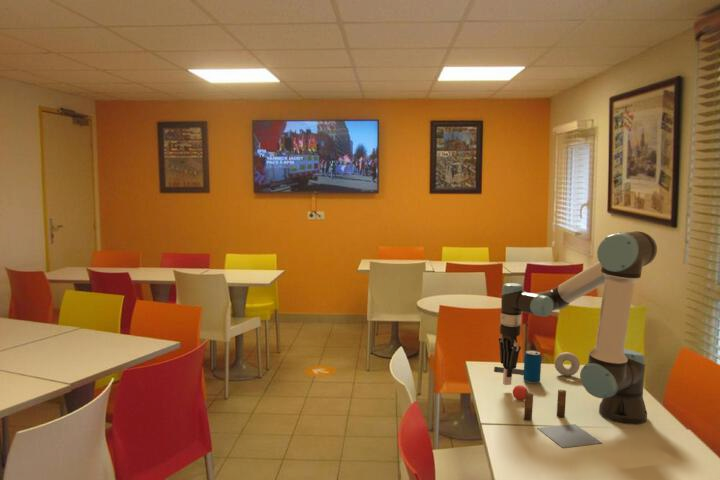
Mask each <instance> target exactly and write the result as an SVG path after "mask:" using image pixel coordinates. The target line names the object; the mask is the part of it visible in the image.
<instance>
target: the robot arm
mask: <svg viewBox="0 0 720 480" xmlns="http://www.w3.org/2000/svg"><path fill="white" fill-rule="evenodd" d="M596 251H597V252H596V256H597V257H596V258H597V260H598V261H597V262H596V263H594V264H592V265H590V266H589V267H587V268H586V269H584V270H582V271H581V272H579V273H577V274H576V275H573V276H572V277H570V278H568V279H566V281H564V282H562V283H561V284H558V285H556V286H555V287H554V288H552V289H550V290H546V291H540V292H530V291H529V292H527V291H525V290H524V288H523V284H520V283H516V282H514V283H513V282H506V283H504V284H503V285H502V289H501V290H502V291H501V295H500V296H501V303H500V304H501V307H500V308H501V310H500V316H499V318H500V324H499V334H501V337H498V338H497V339H498V343H499V354H500V355H499V356H500V357H499V358H500V365H501V364H502V368H504V373H502V374H503V376H502V377H503V378H502V384H503V385H504V386H509V385H510V386H511V385H512V379H513V374H512V369H517V365H518V360H519V354H520V351H521V349H522V347H521V346H520V345H518V337H519V336H520V335H521V323H522V313H525V314H530V315H534V316H537V317H545V318H546V317H548V316H549V315H550V314H552V312H554V311H558V310H560V311H561V310H562V309H565V308H567V307H568V306H569V305H570V304H571V303H572V302H574V301H576V300H577V299H580V298H581V297H583V296H585V295H586V294H588V293H591V292H592V291H594V290H596V289H597V288H599V287H601V286H603V292H602V298H601V305H600V312H599V318H598V326H597V331H596V332H597V333H596V339H595V346H594V348H592V349H591V350H590V351H589V353H588V361H587V363H586V364H585V365H584V366H583V367H582V368H581V369H580V373H579V379H580V382H581V385H582V387H584V389H585V391H586V392H587V393H588V394H590V395H591V396H593V397H595V398H598V399H602V400H601V402H599V405H598V409H599V410H598V413H599V414H600V416H601V417H604V419H607V420H609V421H612V422H615V423H620V424H627V425H641V424H644V423H646V422H647V420H648V410H647V409H646V404H645V400H644V386H645V384H644V383H645V371H646V366H647V365H646V357H645V355H644V354H643V353H641V352H638V351H635V350H633V349H626V348H625V347H626V346H625V345H626V339H627V333H628V327H629V320H630V315H631V314H630V313H631V308H632V300H633V293H634V287H635V283H636V282H637V281H638V280H639V279H641V276H642V269H643V267H645V266H647V265H650V264H651V263H652V262H653V261H654V259H655V258H656V256H657V253H658V246H657V242H656V240H655V239H654V238H653V237H652V236H651V235H649V234H648V233H647V232H643V231H638V230H637V231H625V232H616V233H612V234H610V235H609V234H608V235H607V236H606V237H605V238H603V239H602V241H600V243H599V245H598V248H597V250H596Z"/></svg>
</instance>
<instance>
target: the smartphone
mask: <svg viewBox="0 0 720 480" xmlns="http://www.w3.org/2000/svg"><path fill="white" fill-rule="evenodd" d="M493 372H494V373H500V374H504V367H503V366H501V367H500V366H495V367H493ZM512 375H519V376H524V369H520V368H515V369H512Z"/></svg>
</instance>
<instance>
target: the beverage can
mask: <svg viewBox="0 0 720 480" xmlns="http://www.w3.org/2000/svg"><path fill="white" fill-rule="evenodd" d="M523 362H524V363H523V370H524V375H523V381H525V382H526V383H529V384H534V385H535V384H538V383H539V382H541V374H542V373H541V372H542V371H541V368H542V354H541V352H540V351H538V350H532V349H531V350H526V351H525V353H524V361H523Z"/></svg>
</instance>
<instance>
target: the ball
mask: <svg viewBox="0 0 720 480" xmlns="http://www.w3.org/2000/svg"><path fill="white" fill-rule="evenodd" d="M527 392H529V390H528V389H527V387H525V385H519V384H518V385H515V386H514V387H513V390H512V395H513V398H514V399H515V400H517V401H519V402H520V401H521V402H523V401H525V393H527Z"/></svg>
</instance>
